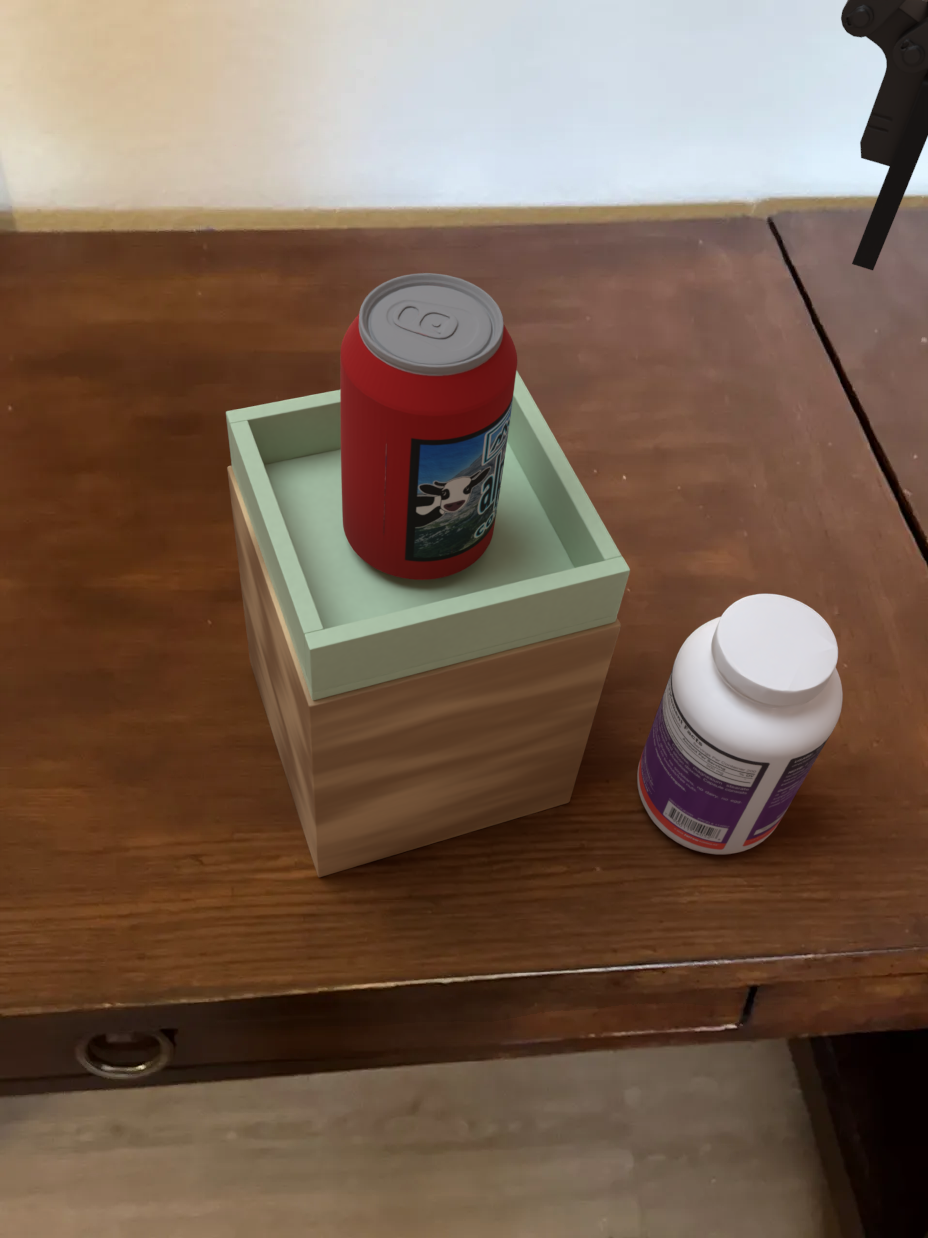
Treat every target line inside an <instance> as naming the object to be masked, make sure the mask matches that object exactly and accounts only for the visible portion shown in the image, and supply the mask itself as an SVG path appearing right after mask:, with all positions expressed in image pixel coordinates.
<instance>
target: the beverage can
mask: <svg viewBox="0 0 928 1238" xmlns="http://www.w3.org/2000/svg"><path fill="white" fill-rule="evenodd" d="M339 369H340V370H339V371H340V373H339V374H340V378H339V379H340V387H339V388H340V389H339V390H340V414H341V484H342V517H343V528H344V532H345V535H346V538H347V540H348V542H349V544H350V546H351V547H352V548H353V550H354V551H355V552H356V553H357V555H358V556H359V557H360V558H361V559H363V560H364V561H365V562H366V563H368V564H369V565H371V566H372V567H374V568H376V569H378V570H380V571H382V572H384V573H387V574H389V575H393V576H396V577H400V578H405V579H414V580H430V579H437V578H443V577H446V576H450V575H453V574H456V573H458V572H460V571H462V570H464V569H466V568H467V567H469V566H471V565H472V564H473V563H475V562H476V561H477V560H478V559H479V558H480V557H481V556H482V555H483V553H484V552H485V551H486V549H487V548H488V546H489V544H490V542H491V539H492V536H493V531H494V525H495V519H496V513H497V506H498V500H499V494H500V488H501V481H502V474H503V467H504V460H505V453H506V446H507V439H508V432H509V425H510V417H511V410H512V402H513V394H514V386H515V378H516V370H517V369H518V353H517V349H516V346H515V342H514V341H513V338H512V336H511V334H510V333H509V331H508V329H507V327H506V326H505V323H504V317H503V313H502V311H501V309H500V306H499V305H498V303H497V302H496V301H495V300H494V299H493V297H492V296H491V295H490V294H489V293H488V292H486V291H485V290H484V289H483V288H482V287H479V286H477V285H476V284H474V283H472V282H470V281H468V280H465V279H463V278H460V277H456V276H452V275H447V274H441V273H429V272H425V273H424V272H422V273H421V272H419V273H410V274H405V275H401V276H400V275H399V276H397V277H394V278H391V279H388V280H387V281H384V282H382V283H381V284H379V285H378V286H376V287H375V288H373V289H372V290H371V291H370V292H369V293H368V295H366V297H365V298H364V299H363V301H362V304H361V306H360V309H359V312H358V314H357V315H356V317H354V319H353V320H352V322H351V324H350V325H349V326H348V328H347V330H346V331H345V333H344V336H343V338H342V340H341V344H340V367H339ZM517 371H518V370H517Z"/></svg>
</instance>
